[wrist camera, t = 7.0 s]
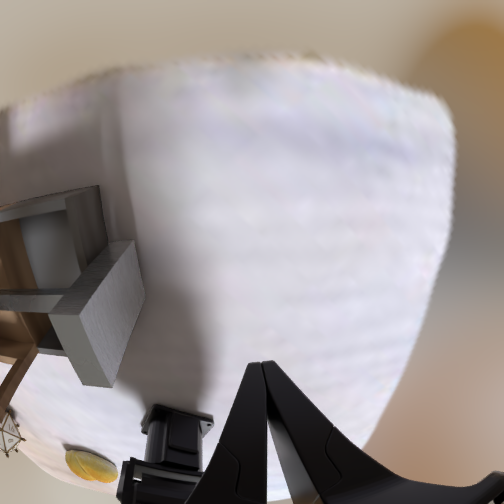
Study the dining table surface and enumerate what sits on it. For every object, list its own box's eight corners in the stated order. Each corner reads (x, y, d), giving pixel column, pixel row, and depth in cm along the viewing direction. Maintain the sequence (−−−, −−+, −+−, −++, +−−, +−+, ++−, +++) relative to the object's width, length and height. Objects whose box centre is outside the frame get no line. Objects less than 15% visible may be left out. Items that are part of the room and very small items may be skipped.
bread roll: (127, 472, 31) (124, 491, 27) (86, 466, 31) (82, 483, 27) (100, 451, 28) (96, 472, 24) (59, 444, 27) (53, 462, 24)
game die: (7, 390, 27) (-35, 395, 17) (38, 423, 26) (-4, 437, 16) (3, 425, 25) (-34, 434, 15) (33, 457, 24) (-3, 473, 14)
